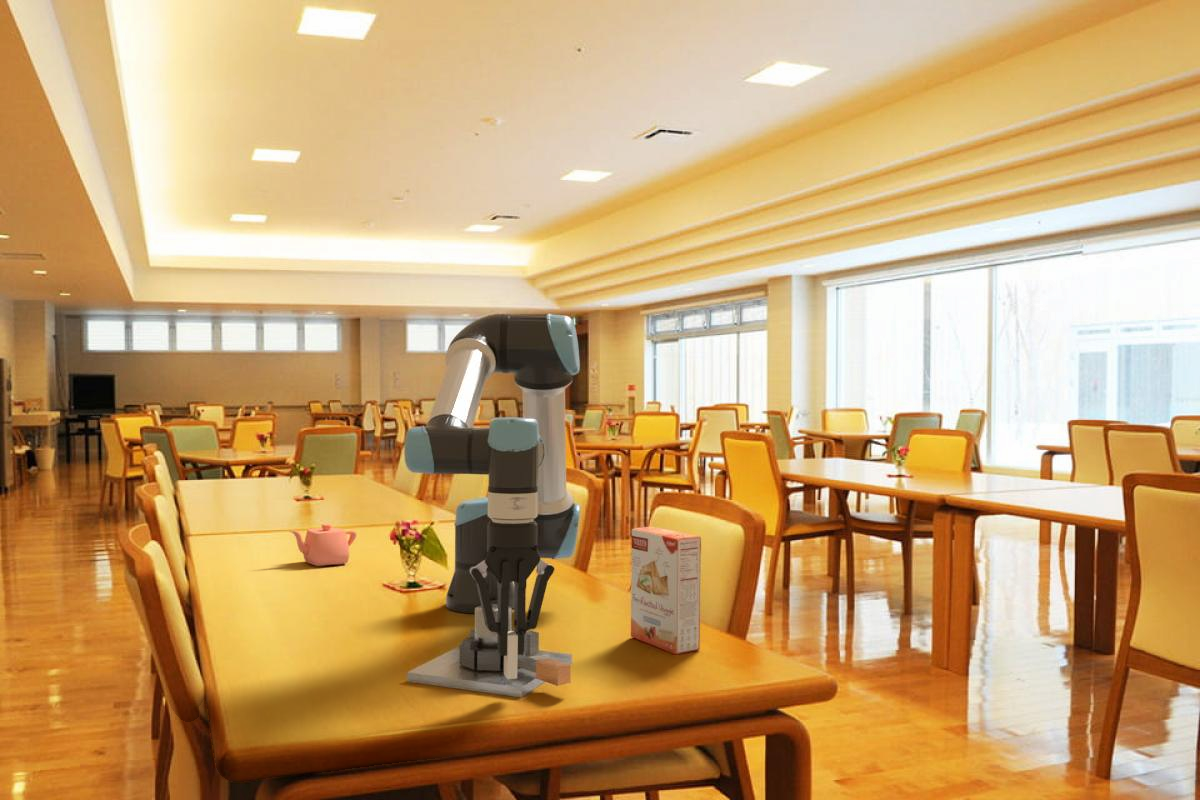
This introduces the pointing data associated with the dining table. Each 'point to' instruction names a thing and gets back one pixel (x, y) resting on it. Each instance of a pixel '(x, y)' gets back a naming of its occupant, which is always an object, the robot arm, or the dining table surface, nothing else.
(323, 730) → the dining table surface
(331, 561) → the teapot
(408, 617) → the dining table surface
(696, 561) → the cracker box
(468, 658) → the wrench
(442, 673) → the flange plate
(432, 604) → the dining table surface
